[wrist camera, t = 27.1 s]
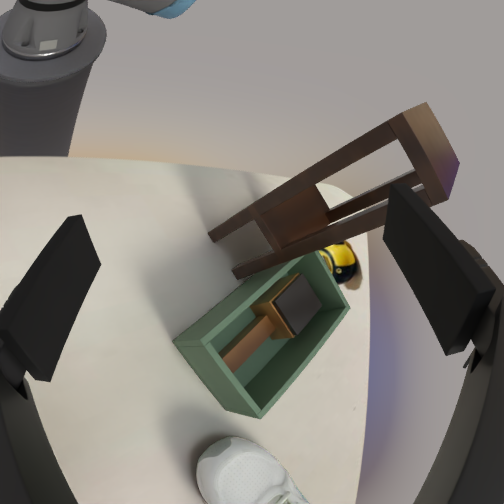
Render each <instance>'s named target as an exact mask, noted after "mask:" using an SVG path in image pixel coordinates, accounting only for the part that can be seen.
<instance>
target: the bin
mask: <svg viewBox="0 0 504 504" xmlns="http://www.w3.org/2000/svg"><path fill="white" fill-rule="evenodd" d="M295 273H299V274H301V273H303V275H304V276H305V278H306V279H307V281H308V283H309V284H310V286H311V288H312V289H313V291H314V293H315V294H316V296H317V297H318V299H319V301H320V302H321V304H322V306H321V308H320V309H319V310H318V311H317V313H316V314H315V315H314V316H313V317H312V319H311V320H310V321H309V322H308V324H307V325H306V326H305V327H304V328H303V330H302V331H301V332H300V333H299V334H298V335H296V336H294V338H286V339H275V340H272V339H271V337H270V336H269V337H268V338H267V339H266V340H265V341H264V342H263V343H262V344H261V345H260V346H259V347H258V348H257V350H256V351H255V352H254V353H253V354H252V355H251V356H250V357H249V358H248V359H247V360H246V361H245V362H244V363H243V364H242V365H241V366H240V367H239V368H238V369H237V370H236V371H235V372H234V373H232V372H231V370H230V369H229V368H228V366H227V365H226V364H225V362H224V361H223V360H222V358H221V357H220V356H219V354H218V353H219V352H220V351H221V350H222V349H223V348H224V347H225V346H226V345H227V344H229V343H230V342H231V341H232V340H233V339H234V338H235V337H236V336H237V335H238V334H239V333H240V332H241V331H242V330H243V329H244V328H245V327H246V326H247V325H248V324H249V323H250V322H251V321H252V320H253V319H254V318H255V317H256V316H255V314H254V313H253V311H252V310H251V308H250V307H249V306H250V305H251V304H252V303H253V302H254V301H255V300H257V299H258V298H259V297H260V296H261V295H262V294H263V293H264V292H265V291H266V290H268V289H269V288H270V287H271V286H272V285H273V284H274V283H275V282H276V281H277V280H279V279H280V278H283V277H286V276H289V275H292V274H295ZM349 309H350V306H349V304H348V302H347V301H346V299H345V297H344V295H343V293H342V292H341V290H340V288H339V286H338V284H337V283H336V281H335V279H334V277H333V276H332V274H331V272H330V270H329V269H328V267H327V265H326V263H325V262H324V260H323V258H322V257H321V255H320V253H319V251H318V250H317V251H315V252H312V253H309V254H307V255H304V256H301V257H298V258H296V259H293V260H290V261H288V262H285V263H282V264H279V265H277V266H274V267H271V268H269V269H266V270H263V271H260V272H258V273H255V274H254V275H253V276H252V277H251V278H249V279H248V280H247V281H246V282H245V283H243V284H242V285H241V286H240V287H238V288H237V289H236V290H235V291H234V292H232V293H231V294H230V295H229V296H228V297H226V298H225V299H224V300H223V301H221V302H220V303H219V304H218V305H216V306H215V307H214V308H213V309H212V310H210V311H209V312H208V313H207V314H205V315H204V316H203V317H202V318H201V319H199V320H198V321H197V322H196V323H194V324H193V325H192V326H191V327H189V328H188V329H187V330H186V331H184V332H183V333H182V334H181V335H179V336H178V337H177V338H176V339H175V340H173V341H172V342H173V343H174V345H175V346H176V347H177V349H178V350H179V351H180V353H181V354H182V355H183V357H184V358H185V359H186V361H187V362H188V363H189V365H190V366H191V367H192V369H193V370H194V371H195V373H196V374H197V375H198V376H199V378H200V379H201V380H202V382H203V383H204V384H205V385H206V387H207V388H208V389H209V390H210V392H211V393H212V394H213V395H214V397H215V398H216V399H217V400H218V401H219V403H220V404H221V405H222V406H223V408H224V409H225V410H227V411H230V412H234V413H238V414H241V415H245V416H249V417H253V418H257V419H262V417H263V416H264V415H265V414H266V413H267V412H268V411H269V410H270V408H271V407H272V406H273V405H274V404H275V403H276V402H277V400H278V399H279V398H280V397H281V396H282V395H283V394H284V392H285V391H286V390H287V389H288V388H289V386H290V385H291V384H292V383H293V382H294V380H295V379H296V378H297V377H298V376H299V374H300V373H301V372H302V371H303V370H304V368H305V367H306V366H307V365H308V363H309V362H310V361H311V360H312V358H313V357H314V356H315V355H316V353H317V352H318V351H319V349H320V348H321V347H322V346H323V344H324V343H325V342H326V340H327V339H328V338H329V337H330V335H331V334H332V333H333V331H334V330H335V329H336V327H337V326H338V325H339V323H340V322H341V320H342V319H343V318H344V316H345V315H346V314H347V312H348V311H349Z"/></svg>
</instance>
